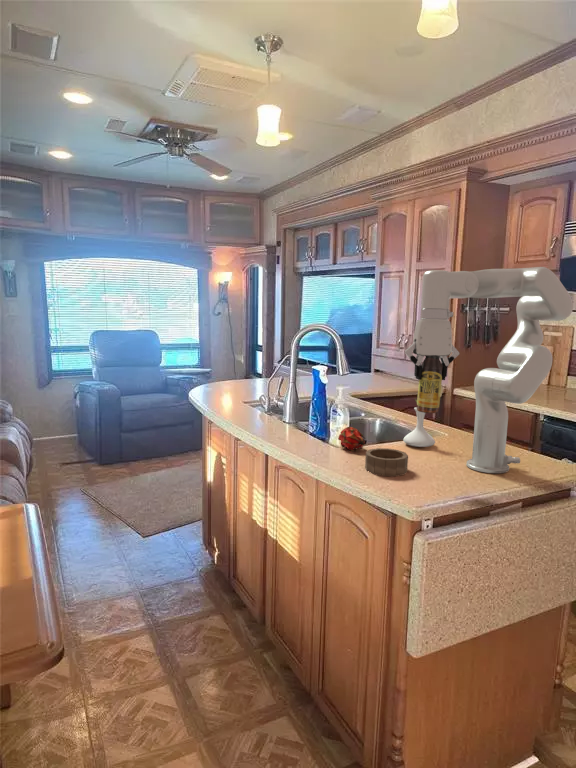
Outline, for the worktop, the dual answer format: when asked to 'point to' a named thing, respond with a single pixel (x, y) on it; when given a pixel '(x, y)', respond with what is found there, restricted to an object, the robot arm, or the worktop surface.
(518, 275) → the robot arm
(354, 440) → the dragon fruit
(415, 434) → the flower in vase
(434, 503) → the worktop surface
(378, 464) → the bottle holder
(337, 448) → the worktop surface
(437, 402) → the sauce bottle
